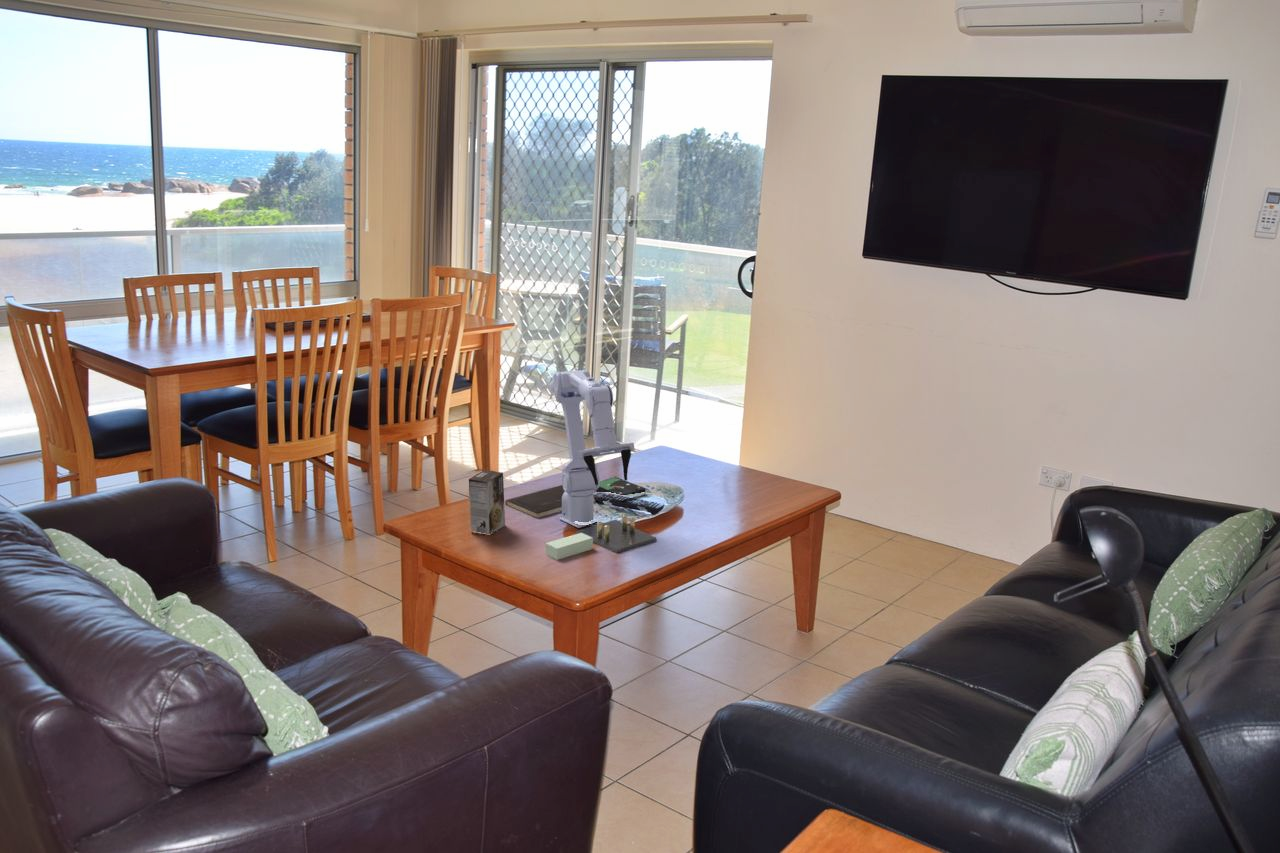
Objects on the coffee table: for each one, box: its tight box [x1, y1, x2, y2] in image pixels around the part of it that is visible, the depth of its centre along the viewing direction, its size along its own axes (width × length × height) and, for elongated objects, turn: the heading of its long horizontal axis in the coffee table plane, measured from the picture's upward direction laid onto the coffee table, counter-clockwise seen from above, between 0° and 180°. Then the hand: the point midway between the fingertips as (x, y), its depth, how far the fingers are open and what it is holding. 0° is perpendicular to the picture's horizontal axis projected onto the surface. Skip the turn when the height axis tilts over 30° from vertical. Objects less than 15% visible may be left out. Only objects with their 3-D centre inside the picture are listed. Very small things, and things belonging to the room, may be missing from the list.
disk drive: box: [595, 476, 646, 495], centre depth 324 cm, size 10×3×15 cm
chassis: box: [575, 514, 657, 554], centre depth 286 cm, size 18×14×5 cm
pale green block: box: [545, 533, 594, 561], centre depth 276 cm, size 5×12×4 cm, turn 131°
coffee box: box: [468, 469, 506, 534], centre depth 290 cm, size 9×6×16 cm
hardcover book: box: [504, 484, 597, 519], centre depth 314 cm, size 16×23×2 cm
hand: (611, 482), depth 268 cm, fingers open, 7 cm apart
